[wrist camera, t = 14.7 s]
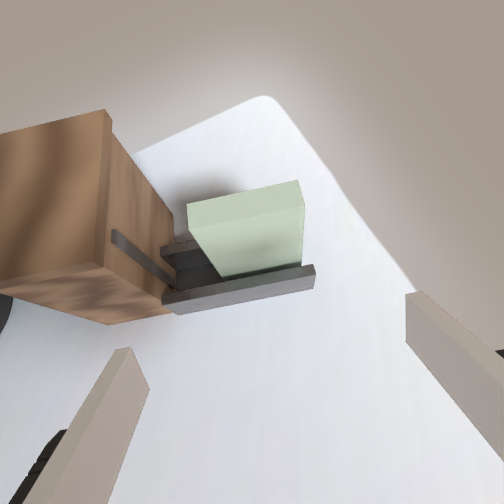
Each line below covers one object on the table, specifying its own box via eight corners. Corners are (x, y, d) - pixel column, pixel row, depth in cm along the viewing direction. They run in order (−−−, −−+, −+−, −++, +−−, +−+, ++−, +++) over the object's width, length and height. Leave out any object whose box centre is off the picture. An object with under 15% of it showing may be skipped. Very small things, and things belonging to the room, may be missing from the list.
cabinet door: (228, 287, 36) (188, 229, 22) (225, 263, 37) (185, 195, 23) (300, 273, 35) (305, 205, 21) (294, 249, 36) (295, 171, 23)
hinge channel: (178, 315, 35) (161, 305, 30) (175, 262, 38) (159, 246, 33) (313, 288, 34) (316, 274, 30) (299, 237, 37) (300, 217, 32)
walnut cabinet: (104, 330, 35) (-45, 290, 20) (109, 225, 42) (0, 134, 26) (182, 314, 35) (92, 261, 19) (176, 211, 41) (104, 109, 26)
